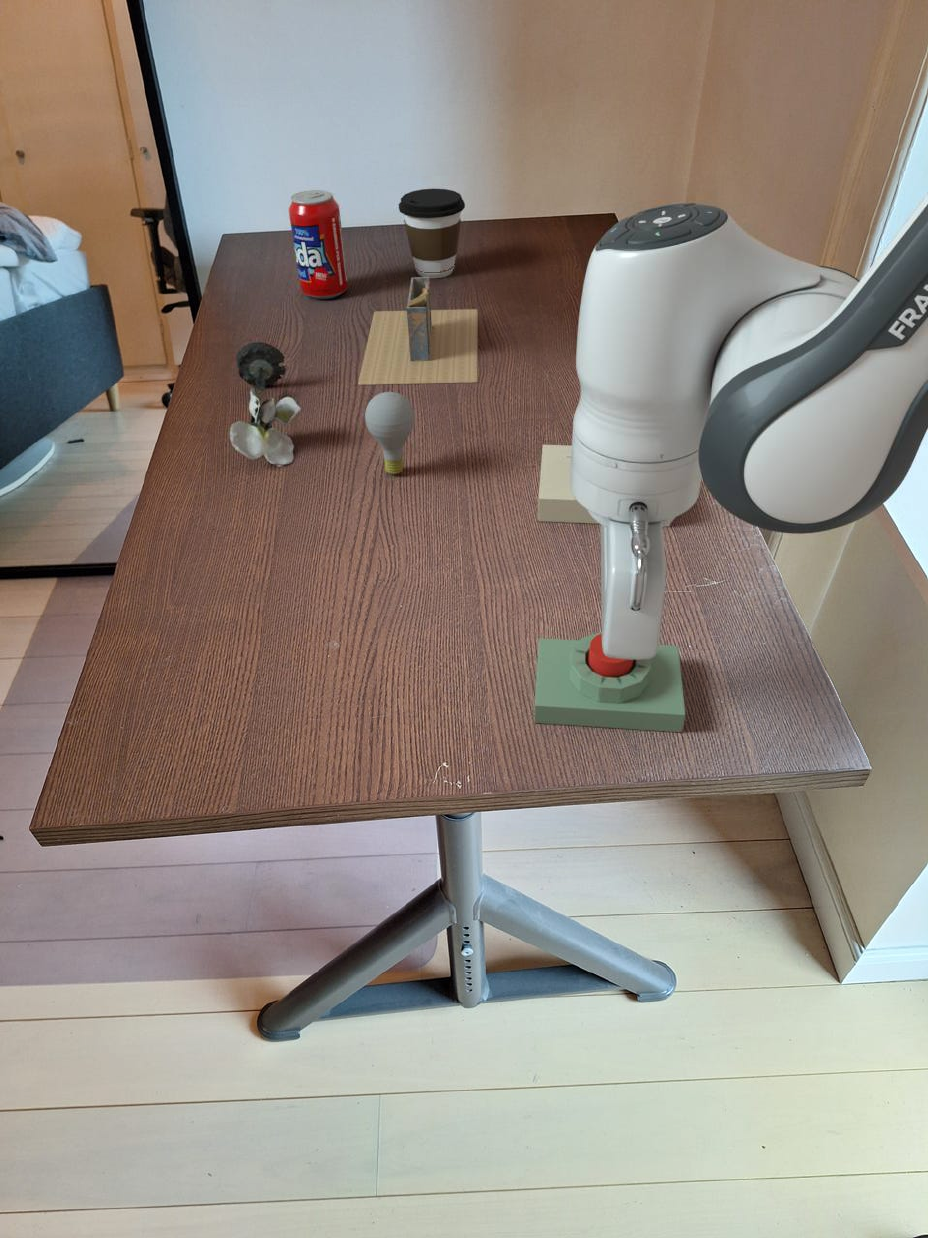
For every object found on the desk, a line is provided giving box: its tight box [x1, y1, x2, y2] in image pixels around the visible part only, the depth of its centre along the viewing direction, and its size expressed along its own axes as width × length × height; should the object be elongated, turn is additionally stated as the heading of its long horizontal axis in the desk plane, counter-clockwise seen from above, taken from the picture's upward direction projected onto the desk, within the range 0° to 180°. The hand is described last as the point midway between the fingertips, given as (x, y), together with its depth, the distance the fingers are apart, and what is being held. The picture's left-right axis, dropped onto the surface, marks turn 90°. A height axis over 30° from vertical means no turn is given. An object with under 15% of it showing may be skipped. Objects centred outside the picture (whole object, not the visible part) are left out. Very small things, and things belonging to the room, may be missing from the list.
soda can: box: [288, 189, 349, 300], centre depth 136 cm, size 8×8×15 cm
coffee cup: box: [398, 188, 466, 279], centre depth 143 cm, size 11×11×12 cm
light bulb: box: [364, 391, 415, 475], centre depth 96 cm, size 6×6×10 cm
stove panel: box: [537, 444, 672, 528], centre depth 94 cm, size 14×13×3 cm
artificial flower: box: [229, 341, 302, 468], centre depth 106 cm, size 9×22×10 cm, turn 6°
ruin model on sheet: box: [357, 276, 479, 386], centre depth 122 cm, size 25×16×10 cm, turn 179°
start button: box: [588, 634, 633, 678], centre depth 70 cm, size 4×4×2 cm
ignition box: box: [533, 631, 686, 733], centre depth 71 cm, size 12×8×4 cm, turn 84°
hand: (619, 617), depth 67 cm, fingers closed
